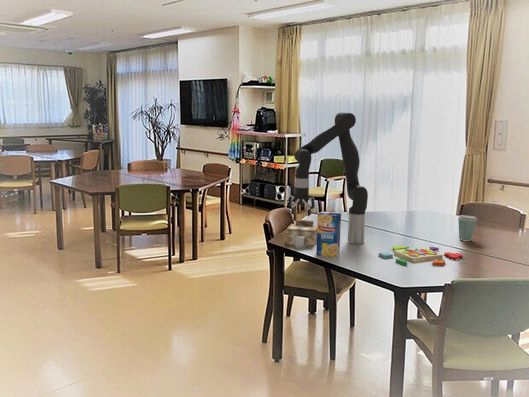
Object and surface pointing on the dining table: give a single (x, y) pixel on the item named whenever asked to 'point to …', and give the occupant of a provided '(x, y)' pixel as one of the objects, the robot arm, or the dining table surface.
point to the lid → (303, 226)
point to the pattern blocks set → (419, 255)
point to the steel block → (300, 242)
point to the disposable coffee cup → (466, 226)
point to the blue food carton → (328, 234)
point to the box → (309, 236)
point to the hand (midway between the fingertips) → (301, 215)
